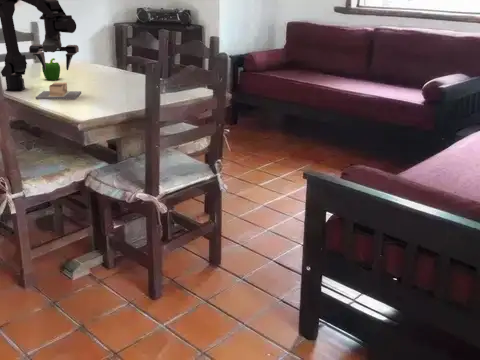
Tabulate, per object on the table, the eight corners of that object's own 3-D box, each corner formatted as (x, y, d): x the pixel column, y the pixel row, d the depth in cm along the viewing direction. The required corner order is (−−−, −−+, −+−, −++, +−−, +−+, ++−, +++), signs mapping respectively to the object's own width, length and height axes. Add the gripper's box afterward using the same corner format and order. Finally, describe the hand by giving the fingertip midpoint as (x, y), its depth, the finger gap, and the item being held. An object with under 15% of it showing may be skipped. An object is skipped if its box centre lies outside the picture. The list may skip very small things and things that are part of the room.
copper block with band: (55, 91, 235) (54, 81, 233) (67, 91, 235) (66, 81, 234) (50, 96, 227) (49, 86, 225) (62, 96, 227) (61, 86, 225)
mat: (35, 98, 225) (35, 96, 225) (43, 92, 236) (43, 90, 236) (75, 99, 226) (74, 97, 226) (81, 93, 237) (81, 91, 237)
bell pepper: (49, 82, 258) (46, 60, 255) (40, 79, 264) (38, 58, 260) (65, 79, 264) (63, 58, 261) (56, 77, 269) (54, 56, 266)
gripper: (22, 33, 214) (27, 73, 220) (71, 34, 215) (74, 73, 221) (31, 30, 224) (35, 68, 230) (77, 31, 225) (80, 69, 231)
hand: (56, 69), depth 228 cm, fingers open, 9 cm apart
